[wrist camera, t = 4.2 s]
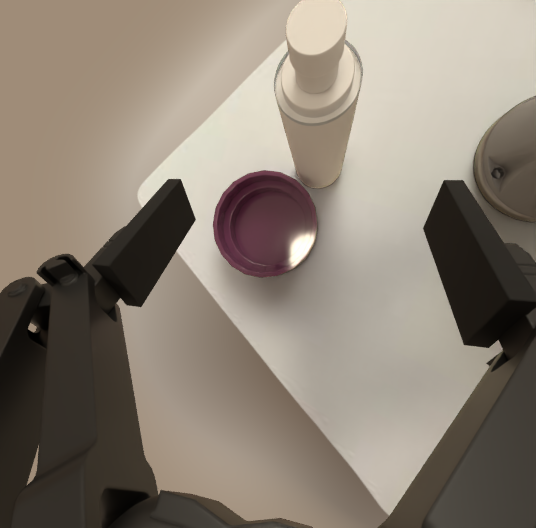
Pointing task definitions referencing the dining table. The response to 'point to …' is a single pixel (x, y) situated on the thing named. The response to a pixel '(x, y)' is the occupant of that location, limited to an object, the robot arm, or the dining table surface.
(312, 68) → the spray bottle
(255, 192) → the bowl
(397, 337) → the dining table surface
